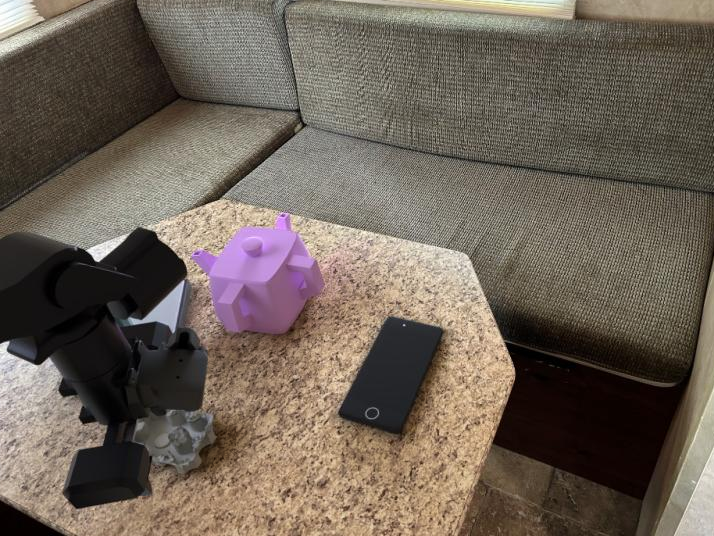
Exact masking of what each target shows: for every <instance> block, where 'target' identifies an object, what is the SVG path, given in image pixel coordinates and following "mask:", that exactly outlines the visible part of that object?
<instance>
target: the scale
mask: <svg viewBox="0 0 714 536" xmlns="http://www.w3.org/2000/svg"><path fill="white" fill-rule="evenodd" d="M191 293H192V284H191V282H190V280H189V278H185V279H184V280H183V281H182V282H181V283H180V284H179V285H178V286H177V287H176V288H175V289H174V290H173V291H172V292H171V293H170V294H169V295H168V296H167V297H166V298H165V299H164V300H163V301H162V302H161V303H160V304H159V305H158V306H156V307H155V308H154V309H153V310H152V311H151V312H150V313H149V314H148V315H147V316H146V317H145V318H144V319H143V320H139V319H134V318H131V317H130V319H131V321H132V323H133V325H136V324H142V323H148V322H154V321H158V322H161V323H164V324H166V325H169V327H170V329H171V331H172V333H174V332H175V331H176V330H177V328H179V327H181V328H186V327H185V326H186V321H187V315H188V309H189V305H190V298H191ZM74 398H77V396H76V395H74ZM77 399H78V398H77Z"/></svg>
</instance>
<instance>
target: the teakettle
mask: <svg viewBox="0 0 714 536" xmlns="http://www.w3.org/2000/svg"><path fill="white" fill-rule="evenodd" d="M190 258H191V259H192V260H193V262H194V263H195V264H196V265H198V267H199V268H200V269H201V270H203V272H204V273H205V275H207V276H208V278H209V289H210V290H209V291H210V295H211V296H210V297H211V301H212V307H213V309H214V312H215V315H216V318H217V319H218V320H219V322H221V324H222V325H223V326H224V329H225V331H226V332H233V333H238V334H239V333H241V332H243V331H247V332H254V333H261V334H269V335H283V334H286V333H287V332H288V331H289V330H290V328H291V327H292V326H293V325H294V323H295V321H296V320H297V319H298V317H299V315H300V314H301V312H302V311H303V309H304V307H305V305H306V303H307V300H308V299H309V298H313V297H316V296H318V295H321V293H322V291H323V290H324V287H325V286H326V282H325V279H324V277H323V274H322V271H321V269H320V266H319V263H318V261H317V258H316V257H311V254H310V252H309V250H308V248H307V246H306V244H305V242H304V240H303V239H302V237H301V235H300V234H299V233H298V232H297V231H293V230H292V225H291V215H290V213H289V212H281V213H280V214H279V215H277V217H276V222H275V226H274V228H272V227H271V228H270V227H260V226H243V227H242V228H240V229H239V230H238V231H237V232H236V233H235V234H234V236H233V237H232V238H231V239H230V240H229V242H227V244H226V245H225V247H224V248H223V249H222V251H221V252H220V254H219V255H218V256H216V255H214V254H212V253H209V252H207V251H205V249H197V250H194V251H193V252H192V253H191V254H190Z"/></svg>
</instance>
